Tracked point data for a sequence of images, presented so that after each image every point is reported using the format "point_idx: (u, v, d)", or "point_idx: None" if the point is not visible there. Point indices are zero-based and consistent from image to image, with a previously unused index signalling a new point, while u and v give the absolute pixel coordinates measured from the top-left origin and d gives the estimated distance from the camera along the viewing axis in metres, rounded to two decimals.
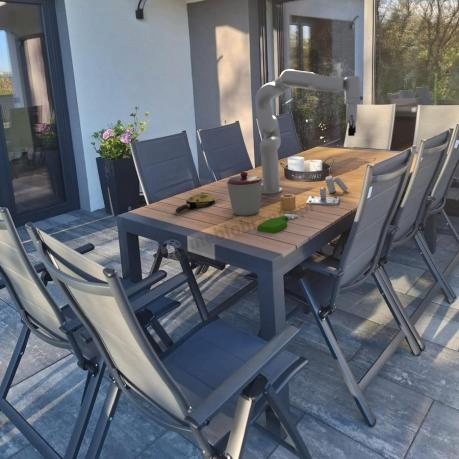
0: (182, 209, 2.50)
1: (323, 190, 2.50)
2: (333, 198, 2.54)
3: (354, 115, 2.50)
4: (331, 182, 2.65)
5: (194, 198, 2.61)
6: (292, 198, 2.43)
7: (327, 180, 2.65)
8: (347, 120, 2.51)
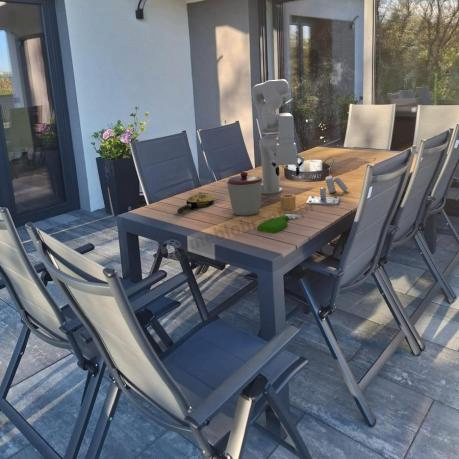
0: (184, 209, 2.50)
1: (323, 190, 2.50)
2: (333, 198, 2.54)
3: None
4: (331, 182, 2.65)
5: (194, 198, 2.61)
6: (292, 198, 2.43)
7: (327, 180, 2.65)
8: (296, 160, 2.37)
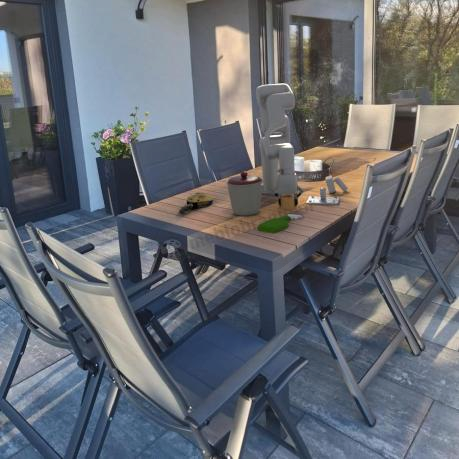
0: (187, 209, 2.49)
1: (323, 190, 2.50)
2: (333, 198, 2.54)
3: (297, 183, 2.44)
4: (331, 182, 2.65)
5: (194, 198, 2.61)
6: (292, 198, 2.43)
7: (327, 180, 2.65)
8: (296, 190, 2.41)
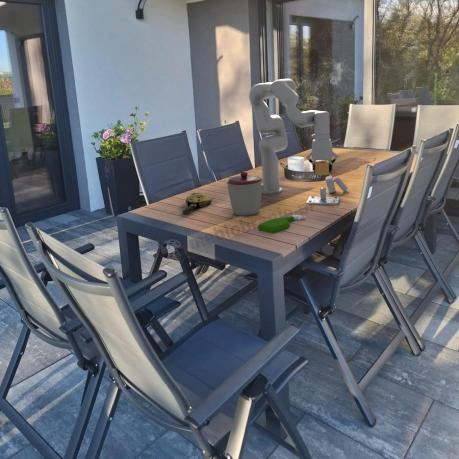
0: (191, 209, 2.49)
1: (323, 190, 2.50)
2: (333, 198, 2.54)
3: None
4: (331, 182, 2.65)
5: (193, 198, 2.61)
6: (327, 164, 2.44)
7: (327, 180, 2.65)
8: (331, 155, 2.43)
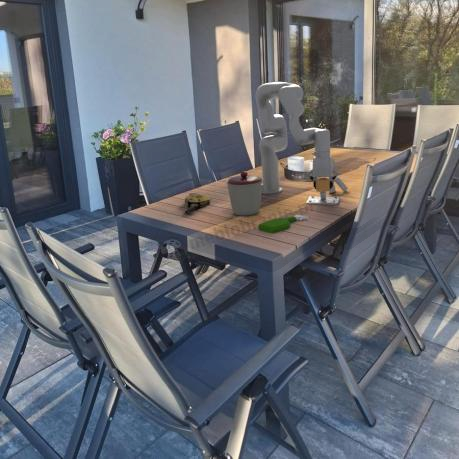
0: (193, 209, 2.48)
1: None
2: (333, 198, 2.54)
3: None
4: None
5: (193, 199, 2.60)
6: (327, 181, 2.47)
7: None
8: (332, 172, 2.45)
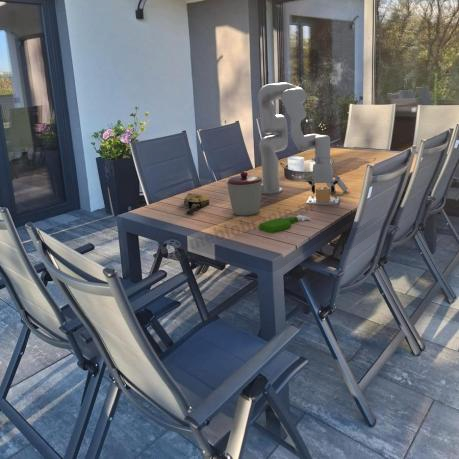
0: (196, 209, 2.48)
1: None
2: (333, 198, 2.54)
3: None
4: None
5: (193, 199, 2.60)
6: (327, 190, 2.49)
7: None
8: (332, 178, 2.46)
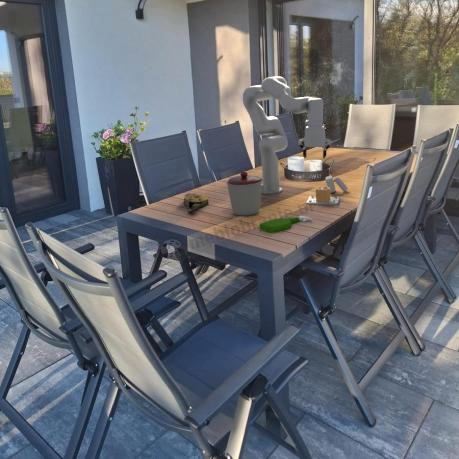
0: None
1: None
2: (333, 198, 2.54)
3: None
4: (331, 182, 2.65)
5: (193, 199, 2.60)
6: (327, 190, 2.49)
7: (327, 180, 2.65)
8: (324, 142, 2.44)
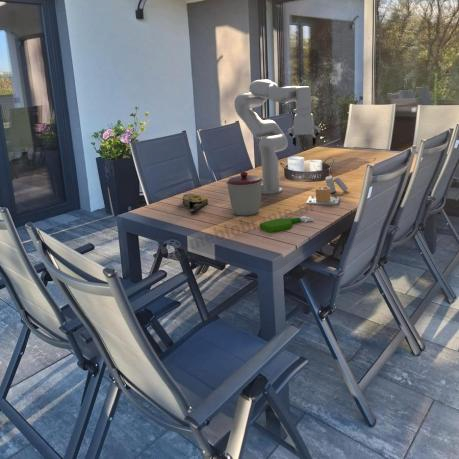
0: None
1: None
2: (333, 198, 2.54)
3: None
4: (331, 182, 2.65)
5: (193, 199, 2.60)
6: (327, 190, 2.49)
7: (327, 180, 2.65)
8: (313, 130, 2.47)
